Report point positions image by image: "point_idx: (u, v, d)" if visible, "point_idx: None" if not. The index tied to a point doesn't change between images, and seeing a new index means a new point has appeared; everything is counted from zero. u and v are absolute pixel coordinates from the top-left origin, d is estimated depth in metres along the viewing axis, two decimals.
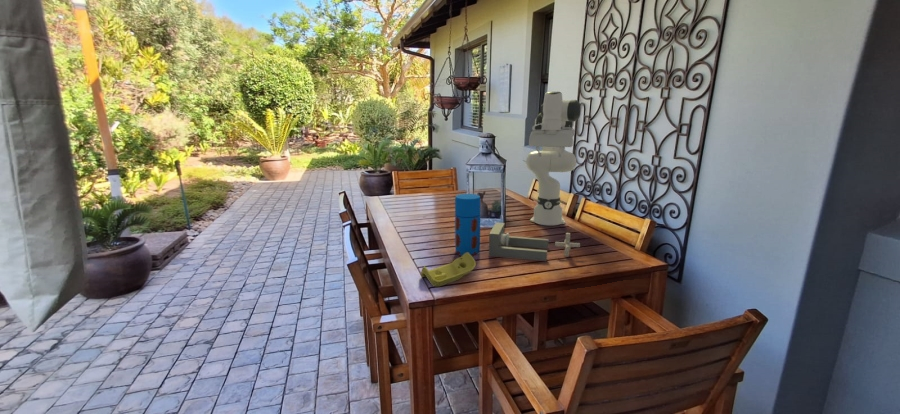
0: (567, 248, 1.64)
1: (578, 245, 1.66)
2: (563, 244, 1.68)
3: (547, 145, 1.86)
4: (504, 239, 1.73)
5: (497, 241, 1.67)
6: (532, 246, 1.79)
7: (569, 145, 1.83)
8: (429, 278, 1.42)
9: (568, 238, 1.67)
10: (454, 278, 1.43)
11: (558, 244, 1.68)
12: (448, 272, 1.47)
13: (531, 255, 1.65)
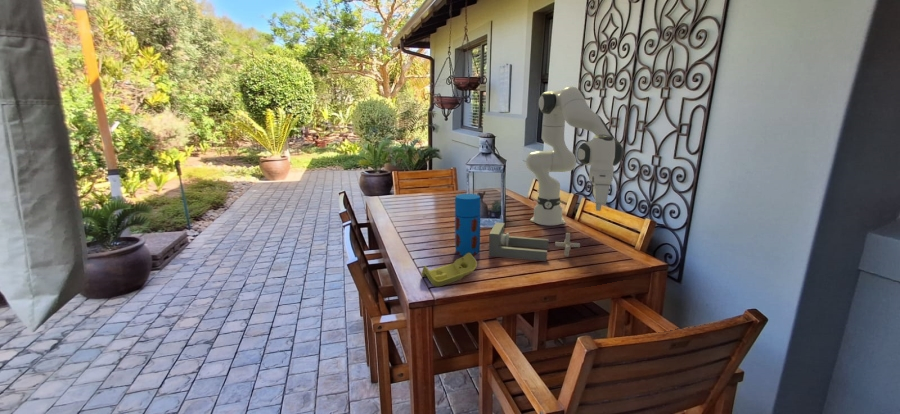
0: (567, 248, 1.64)
1: (578, 245, 1.66)
2: (563, 244, 1.68)
3: None
4: (504, 239, 1.73)
5: (497, 241, 1.67)
6: (532, 246, 1.79)
7: None
8: (430, 278, 1.42)
9: (568, 238, 1.67)
10: (454, 278, 1.43)
11: (558, 244, 1.68)
12: (449, 272, 1.47)
13: (531, 255, 1.65)
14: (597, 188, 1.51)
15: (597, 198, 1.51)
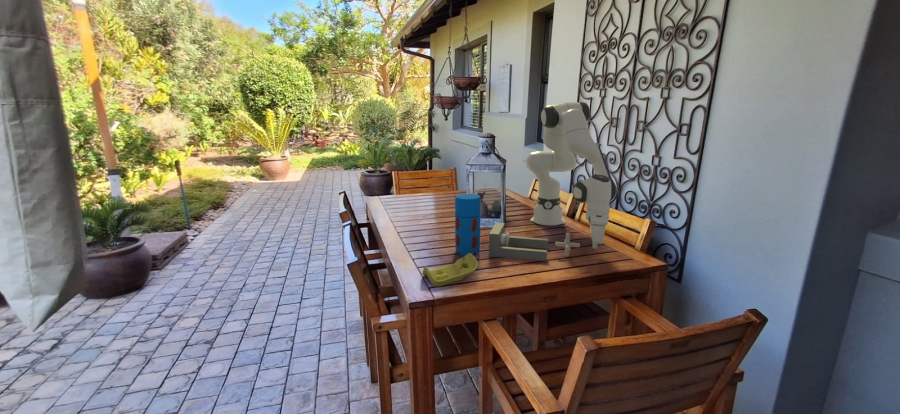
0: (567, 248, 1.64)
1: (578, 245, 1.66)
2: (563, 244, 1.68)
3: None
4: (504, 239, 1.73)
5: (497, 241, 1.67)
6: (532, 246, 1.79)
7: None
8: (430, 278, 1.42)
9: (568, 238, 1.67)
10: (455, 278, 1.43)
11: (558, 244, 1.68)
12: (450, 273, 1.47)
13: (531, 255, 1.65)
14: (593, 228, 1.54)
15: (593, 238, 1.55)
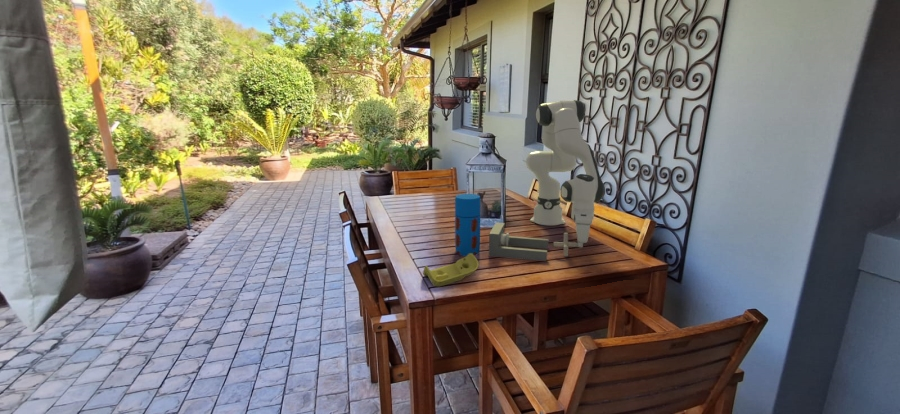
0: (565, 248, 1.64)
1: (576, 244, 1.66)
2: (561, 244, 1.68)
3: None
4: (504, 239, 1.73)
5: (497, 241, 1.67)
6: (532, 246, 1.79)
7: None
8: (430, 278, 1.42)
9: (566, 238, 1.67)
10: (455, 278, 1.43)
11: (556, 244, 1.68)
12: (451, 273, 1.47)
13: (531, 255, 1.65)
14: (578, 227, 1.56)
15: (578, 237, 1.56)
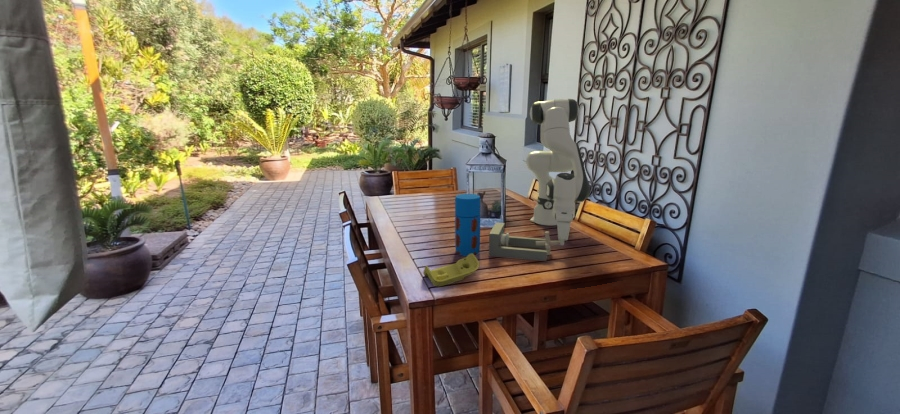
0: (546, 246, 1.65)
1: (558, 242, 1.68)
2: (543, 243, 1.70)
3: None
4: (504, 239, 1.73)
5: (497, 241, 1.67)
6: (532, 246, 1.79)
7: None
8: (430, 278, 1.42)
9: (547, 236, 1.69)
10: (455, 278, 1.43)
11: (538, 243, 1.70)
12: (451, 273, 1.47)
13: (531, 255, 1.65)
14: (559, 225, 1.58)
15: (559, 235, 1.58)
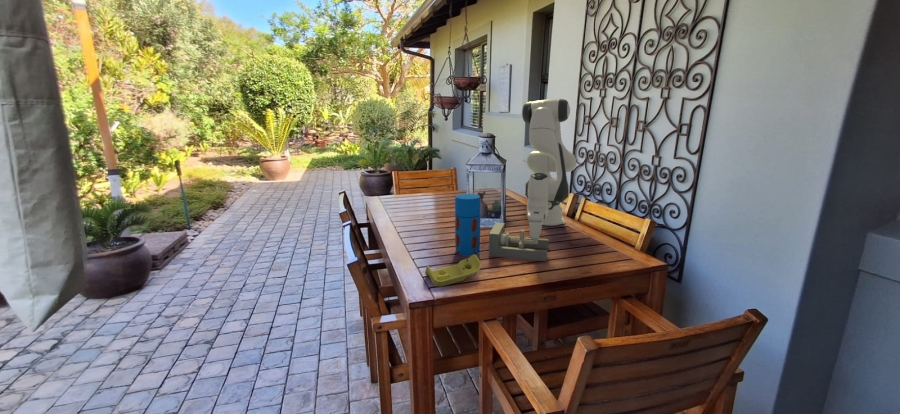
0: (520, 245, 1.68)
1: (532, 242, 1.71)
2: (517, 241, 1.72)
3: None
4: (504, 239, 1.73)
5: (497, 241, 1.67)
6: (532, 246, 1.79)
7: None
8: (431, 278, 1.42)
9: (522, 235, 1.71)
10: (456, 279, 1.42)
11: (513, 240, 1.73)
12: (452, 273, 1.46)
13: (531, 255, 1.65)
14: (530, 224, 1.61)
15: (531, 234, 1.61)
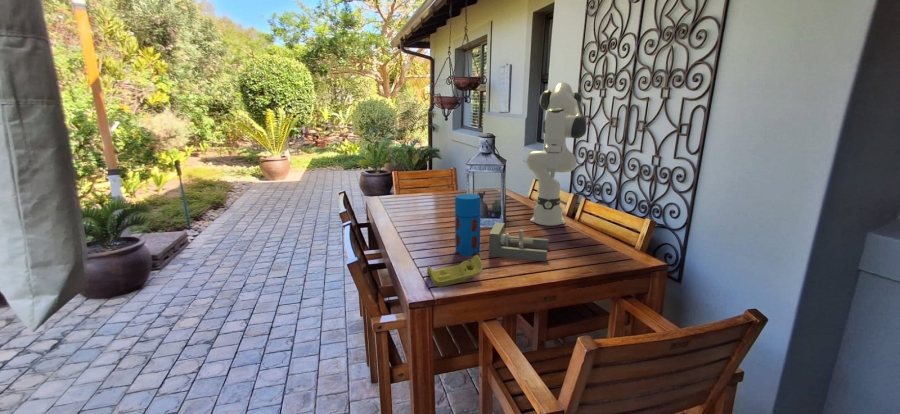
0: (520, 245, 1.68)
1: (531, 241, 1.71)
2: (517, 241, 1.72)
3: None
4: (504, 239, 1.73)
5: (497, 241, 1.67)
6: (532, 246, 1.79)
7: None
8: (432, 278, 1.42)
9: (521, 235, 1.71)
10: (456, 280, 1.42)
11: (512, 241, 1.73)
12: (454, 274, 1.46)
13: (531, 255, 1.65)
14: (548, 155, 1.66)
15: (548, 165, 1.66)
